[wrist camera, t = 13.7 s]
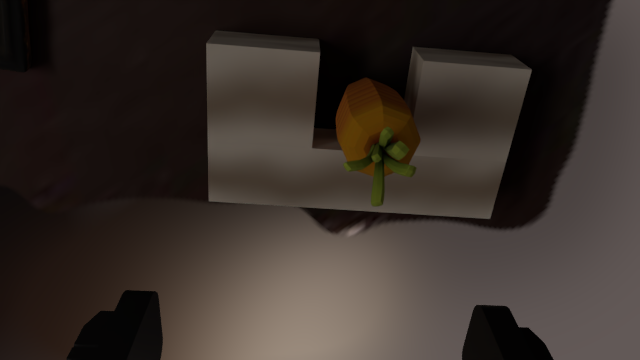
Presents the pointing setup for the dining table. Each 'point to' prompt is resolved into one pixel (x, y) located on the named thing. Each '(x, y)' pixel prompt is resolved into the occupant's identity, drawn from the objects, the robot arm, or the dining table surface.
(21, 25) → the framed painting
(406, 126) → the carrot
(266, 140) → the notched board
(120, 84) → the dining table surface
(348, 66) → the dining table surface
